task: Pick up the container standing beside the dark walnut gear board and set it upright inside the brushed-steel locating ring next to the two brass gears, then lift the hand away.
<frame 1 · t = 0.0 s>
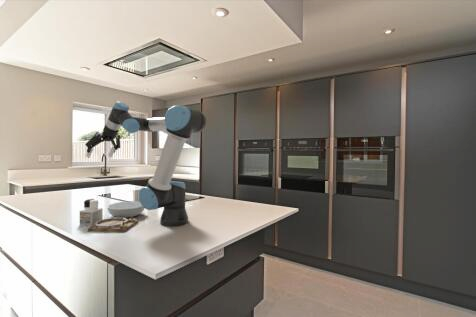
hand: (99, 156, 145), 36 cm above the countertop, tool tilted 35°, fingers open, 13 cm apart
serving bowl: (126, 216, 147), on the countertop
container: (91, 223, 131), on the countertop
gear board: (114, 226, 126), on the countertop
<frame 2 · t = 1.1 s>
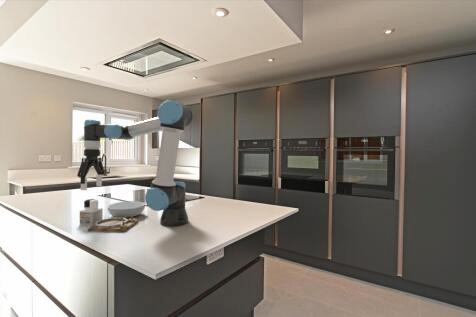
hand: (91, 188, 131), 19 cm above the countertop, tool pointing down, fingers open, 13 cm apart
nothing on the countertop moved.
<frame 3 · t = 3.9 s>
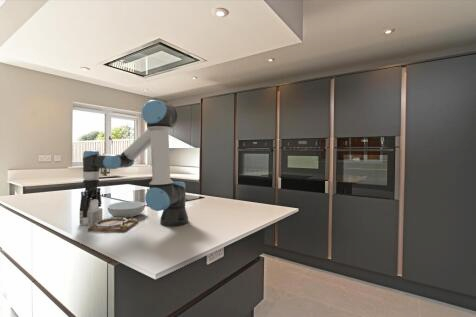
hand: (91, 220, 131), 1 cm above the countertop, tool pointing down, fingers closed on container, 8 cm apart
container: (91, 223, 131), on the countertop, touching gripper
everything else where it was.
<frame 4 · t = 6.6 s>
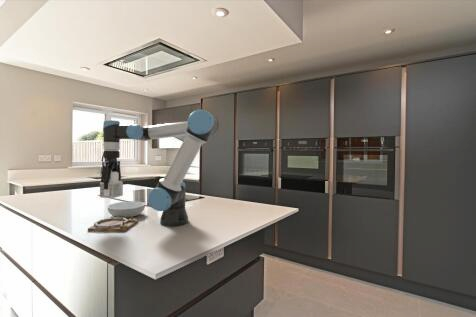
hand: (111, 194, 125), 17 cm above the countertop, tool pointing down, fingers closed on container, 8 cm apart
container: (111, 196, 125), point 16 cm above the countertop, touching gripper
everything else where it was.
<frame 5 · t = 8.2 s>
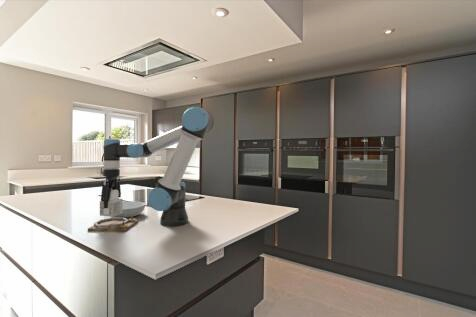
hand: (111, 211, 126), 8 cm above the countertop, tool pointing down, fingers closed on container, 8 cm apart
container: (111, 214, 126), point 6 cm above the countertop, touching gripper
everything else where it was.
when the fingers open (5 cm above the countertop, at t = 9.6 s): container drops 2 cm, resting on gear board.
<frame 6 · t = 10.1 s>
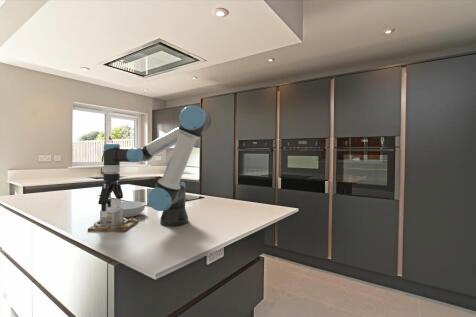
hand: (111, 213, 126), 7 cm above the countertop, tool pointing down, fingers open, 13 cm apart
container: (111, 224, 126), point 1 cm above the countertop, touching gear board
everything else where it was.
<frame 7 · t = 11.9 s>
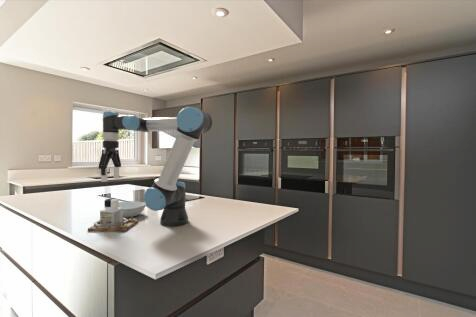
hand: (110, 180, 130), 24 cm above the countertop, tool pointing down, fingers open, 13 cm apart
nothing on the countertop moved.
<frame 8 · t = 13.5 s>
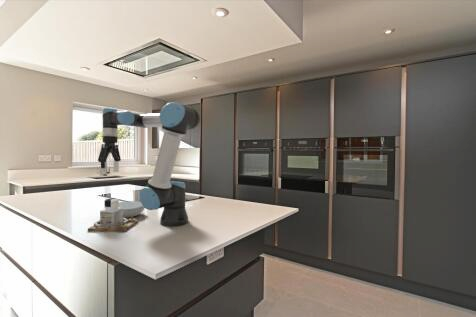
hand: (110, 173, 138), 27 cm above the countertop, tool pointing down, fingers open, 13 cm apart
nothing on the countertop moved.
at the end: container 0.0 cm from the target spot on the gear board, point 1.3 cm above the gear board's base; container tilted 0°; the gripper is holding nothing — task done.
